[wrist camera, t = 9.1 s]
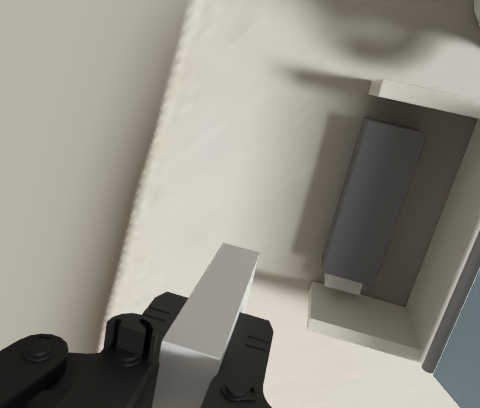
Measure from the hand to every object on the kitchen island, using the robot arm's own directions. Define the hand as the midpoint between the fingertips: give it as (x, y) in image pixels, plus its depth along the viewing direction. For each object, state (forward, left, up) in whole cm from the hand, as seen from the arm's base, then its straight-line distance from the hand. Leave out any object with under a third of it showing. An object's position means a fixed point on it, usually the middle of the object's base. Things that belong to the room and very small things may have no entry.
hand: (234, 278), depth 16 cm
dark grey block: (0, +7, -18) cm, 20 cm away
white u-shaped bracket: (0, +10, -18) cm, 21 cm away
